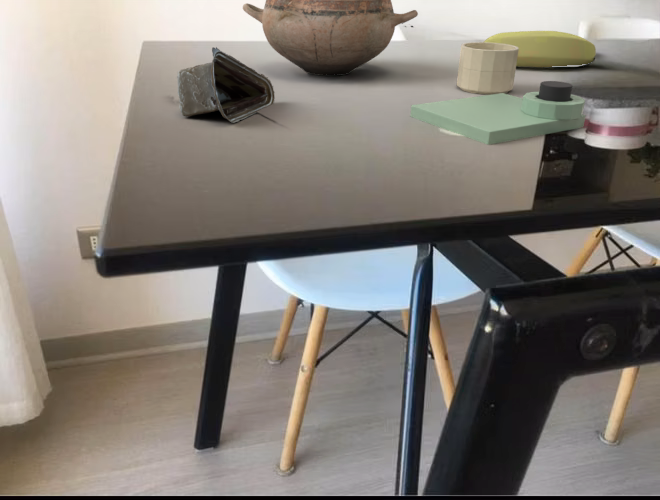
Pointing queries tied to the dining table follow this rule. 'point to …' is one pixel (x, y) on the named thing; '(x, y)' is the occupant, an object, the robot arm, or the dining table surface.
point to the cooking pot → (328, 31)
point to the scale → (502, 116)
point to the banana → (547, 48)
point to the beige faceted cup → (487, 67)
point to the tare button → (555, 91)
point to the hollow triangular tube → (223, 88)
